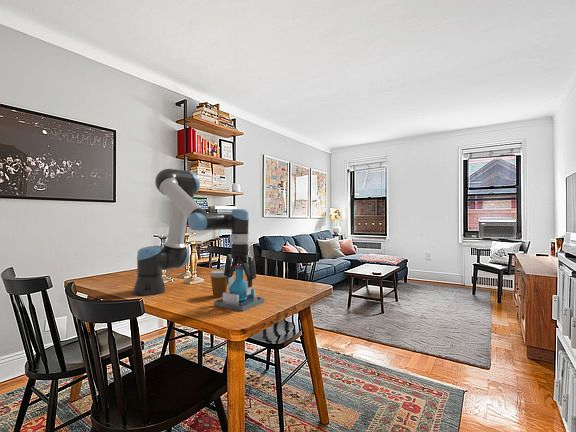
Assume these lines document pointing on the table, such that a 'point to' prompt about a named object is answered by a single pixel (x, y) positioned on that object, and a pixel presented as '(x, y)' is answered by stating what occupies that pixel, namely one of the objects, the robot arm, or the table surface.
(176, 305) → the table surface
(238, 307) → the base
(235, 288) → the perfume bottle
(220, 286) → the disposable coffee cup
